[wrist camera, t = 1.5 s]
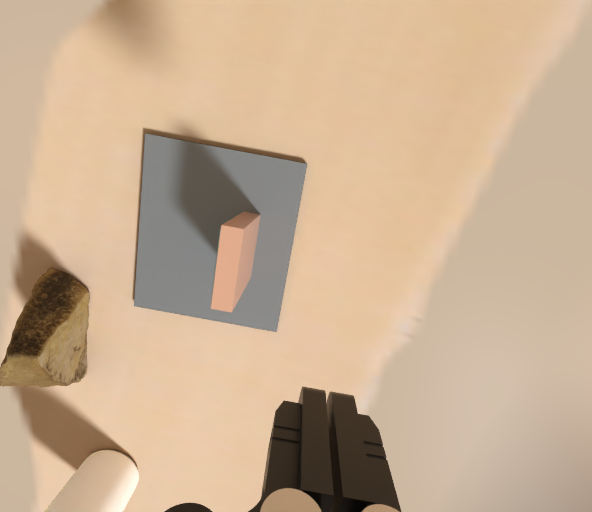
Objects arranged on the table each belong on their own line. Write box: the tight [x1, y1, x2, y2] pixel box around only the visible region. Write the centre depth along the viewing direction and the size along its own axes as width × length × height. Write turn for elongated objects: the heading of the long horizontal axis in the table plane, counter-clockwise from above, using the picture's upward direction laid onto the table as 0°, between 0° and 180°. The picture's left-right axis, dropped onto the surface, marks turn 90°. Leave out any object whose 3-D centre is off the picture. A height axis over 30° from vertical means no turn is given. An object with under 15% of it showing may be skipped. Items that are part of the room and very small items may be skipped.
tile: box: [211, 211, 261, 312], centre depth 26 cm, size 6×2×8 cm, turn 170°
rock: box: [0, 268, 90, 387], centre depth 31 cm, size 11×9×10 cm
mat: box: [134, 134, 307, 332], centre depth 31 cm, size 16×14×1 cm
